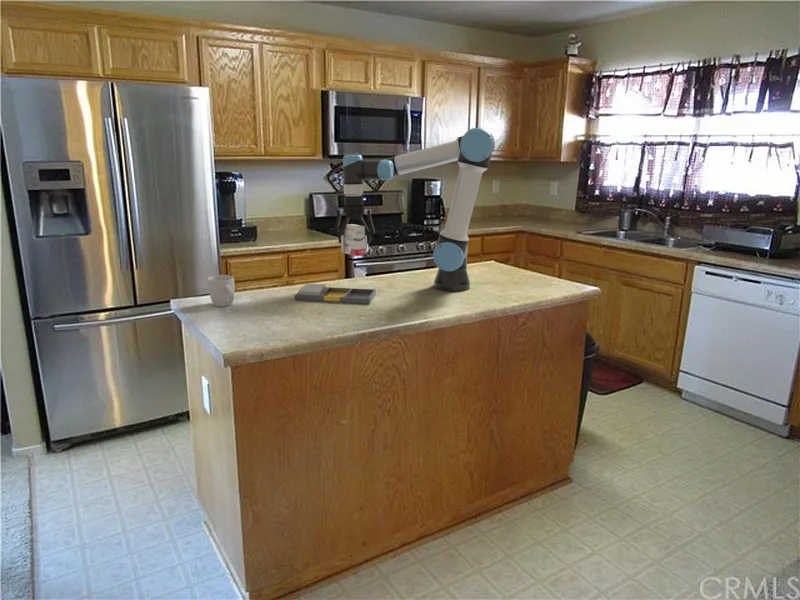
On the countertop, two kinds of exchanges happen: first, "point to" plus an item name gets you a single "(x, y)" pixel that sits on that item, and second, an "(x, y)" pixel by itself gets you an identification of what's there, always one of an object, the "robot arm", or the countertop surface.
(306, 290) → the panel
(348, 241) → the ink box
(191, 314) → the countertop surface
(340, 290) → the rack
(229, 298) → the mug
